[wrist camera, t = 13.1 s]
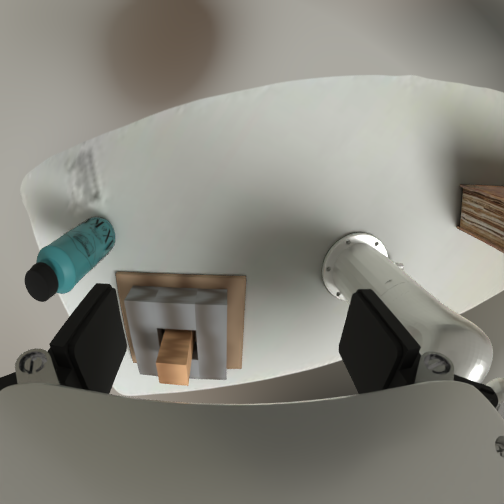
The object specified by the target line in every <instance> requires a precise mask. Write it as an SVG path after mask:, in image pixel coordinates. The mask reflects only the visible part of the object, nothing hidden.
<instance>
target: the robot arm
mask: <svg viewBox="0 0 504 504" xmlns="http://www.w3.org/2000/svg"><path fill="white" fill-rule="evenodd" d="M347 240H348V241H347ZM346 241H347V242H346ZM327 267H328V268H327ZM322 277H323V281H324V284H325V286H326V288H327V289H328V291H329V292H330V293H331V294H332V295H333V296H334V297H336V298H338V299H341V300H345V301H347V302H348V304H349V310H348V313H347V317H346V321H345V325H344V329H343V333H342V336H341V340H340V343H339V353H340V355H341V357H342V360H343V362H344V364H345V365H346V368H347V370H348V372H349V374H350V376H351V378H352V380H353V382H354V385H355V387H356V389H357V391H358V393H359V394H357V395H350V396H344V397H336V398H328V399H320V400H310V401H298V402H286V403H264V404H204V403H185V402H170V401H158V400H149V399H141V398H133V397H126V396H119V395H112V394H109V393H110V390H111V388H112V385H113V382H114V380H115V377H116V375H117V372H118V370H119V367H120V365H121V362H122V360H123V357H124V355H125V352H126V348H127V344H126V339H125V334H124V330H123V325H122V321H121V316H120V311H119V305H118V300H117V294H116V290H115V288H112V287H111V285H110V284H100V283H97V284H95V285H94V287H93V288H92V289H91V290H90V292H89V293H88V294H87V295H86V297H85V298H84V299H83V300H82V301H81V303H80V304H79V305H78V307H77V308H76V309H75V310H74V312H73V313H72V314H71V316H70V317H69V318H68V320H67V321H66V322H65V323H64V325H63V326H62V328H61V329H60V330H59V332H58V333H57V334H56V336H55V337H54V339H53V340H52V341H51V343H50V349H49V350H48V352H47V351H45V350H43V349H31V350H28V351H26V352H24V353H23V354H21V355H20V356H19V358H18V359H17V361H16V363H15V370H16V372H14V373H12V374H9V375H7V376H4V377H1V378H0V504H504V378H496V379H494V380H491V381H490V382H489V383H487V384H486V385H484V384H481V383H482V381H483V380H484V378H485V377H486V375H487V373H488V371H489V369H490V366H491V363H492V358H493V349H492V345H491V342H490V340H489V338H488V337H487V335H486V334H485V333H484V332H483V331H482V330H481V329H480V328H479V327H477V326H476V325H475V324H473V323H472V322H470V321H469V320H467V319H466V318H464V317H462V316H461V315H459V314H457V313H456V312H454V311H452V310H451V309H449V308H448V307H447V306H445V305H444V304H442V303H441V302H440V301H439V300H437V299H436V298H435V297H434V296H432V295H431V294H430V293H429V292H428V291H426V290H425V289H424V288H423V287H422V286H421V285H419V284H418V283H417V282H416V281H415V280H413V279H412V278H411V277H410V276H409V275H408V274H406V273H405V272H404V271H403V264H402V263H394V262H393V261H391V260H390V259H389V258H388V254H387V250H386V248H385V246H384V245H383V244H382V242H381V241H380V240H379V239H377V238H376V237H374V236H372V235H370V234H367V233H353V234H350V235H347V236H345V237H343V238H342V239H340V240H339V241H338V242H336V243H335V244H334V245H333V246H332V248H331V249H330V250H329V252H328V253H327V255H326V257H325V260H324V263H323V267H322Z"/></svg>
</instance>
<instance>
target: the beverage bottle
mask: <svg viewBox="0 0 504 504" xmlns="http://www.w3.org/2000/svg"><path fill="white" fill-rule="evenodd" d="M85 221H86V220H85ZM78 225H79V224H78ZM114 243H115V232H114V229H113V227H112V225H111V224H110V223H109V222H108V221H107V220H105V219H103V218H99V217H94V218H90V219H88V220H87V221H86V222H83V223H81V224H80V225H79V226H77V227H76V228H74V229H72V230H71V231H69V232H67V233H66V234H65V233H64V235H63V236H61V237H60V238H58V239H57V240H55V241H54V242H52V243H51V244H49V245H48V246H45V247H44V248H42V249H41V250H40V252H39V254H38V256H37V263H36V264H35V265H33V266H32V268H31V269H30V270H29V271H28V272H27V273H26V276H25V285H26V288H27V290H28V292H29V294H30V295H31V296H32V297H33V298H34V299H36V300H38V301H41V302H44V301H47V300H48V299H49V298H50V297H52V296H53V295H54V294H55V293H61V294H63V293H67V292H69V291H71V290H72V289H73V287H74V286H75V285H76V284H77V283H78V282H79V281H80V280H81V279H82V278H83V277H84V276H85V275H86V274H87V273H88V272H89V271H90V270H93V267H94V266H95V265H96V264H98V262H99V261H102V260H103V259H104V258H105V257H106V256H107V255H108V254H109V253H108V252H109V251H110V250H111V249H112V248H113V246H114ZM110 252H111V251H110ZM107 253H108V254H107ZM106 254H107V255H106ZM104 256H105V257H104ZM103 257H104V258H103ZM102 258H103V259H102ZM101 259H102V260H101ZM94 268H95V267H94Z"/></svg>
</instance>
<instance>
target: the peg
mask: <svg viewBox="0 0 504 504" xmlns="http://www.w3.org/2000/svg"><path fill="white" fill-rule="evenodd" d="M194 339H195V332H194V330H179V329H165V332H164V335H163V339H162V342H161V346H160V349H159V353H158V356H157V360H156V367H157V372H158V377H159V383H164V384H174V385H187V386H188V384H189V376H190V368H191V361H192V354H193V346H194Z"/></svg>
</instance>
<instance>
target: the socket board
mask: <svg viewBox="0 0 504 504" xmlns="http://www.w3.org/2000/svg"><path fill="white" fill-rule="evenodd" d="M116 280H117V287H118V293H119V299H120V304H121V310H122V315H123V320H124V325H125V330H126V334H127V339H128V343H129V347H130V351H131V356H132V360H133V363H137V365H138V368H139V372H140V374H143V375H152V376H158V372H157V367H156V360H157V356H158V353H159V349H160V346H161V342H162V339H163V335H164V332H165V329H179V330H194V332H195V339H194V346H193V354H192V361H191V368H190V376H189V378H191V379H217V380H226V369H241V368H242V349H243V330H244V311H245V292H246V276H226V275H191V274H163V273H139V272H117V273H116Z"/></svg>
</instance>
